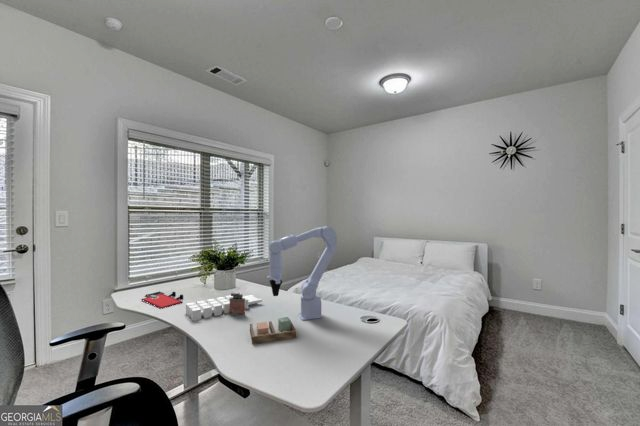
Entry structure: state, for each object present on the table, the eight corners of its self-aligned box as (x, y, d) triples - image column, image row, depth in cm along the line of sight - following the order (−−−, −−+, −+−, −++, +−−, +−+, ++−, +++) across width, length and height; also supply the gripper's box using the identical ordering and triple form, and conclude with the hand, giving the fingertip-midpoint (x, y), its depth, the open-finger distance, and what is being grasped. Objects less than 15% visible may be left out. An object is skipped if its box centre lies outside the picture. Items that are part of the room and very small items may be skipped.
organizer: (185, 303, 138) (252, 291, 159) (186, 313, 138) (252, 299, 159) (193, 311, 127) (263, 296, 149) (193, 321, 127) (263, 305, 149)
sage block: (287, 328, 119) (287, 316, 119) (290, 332, 115) (290, 320, 115) (278, 330, 117) (278, 318, 117) (281, 334, 114) (281, 321, 114)
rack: (289, 324, 123) (289, 318, 123) (296, 338, 110) (296, 330, 110) (249, 330, 117) (249, 323, 117) (252, 344, 105) (252, 336, 105)
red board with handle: (162, 292, 173) (135, 298, 160) (162, 287, 173) (135, 294, 160) (189, 302, 155) (160, 310, 143) (189, 297, 155) (160, 305, 143)
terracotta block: (266, 332, 115) (266, 322, 115) (268, 339, 109) (268, 327, 109) (256, 334, 114) (256, 323, 114) (258, 340, 108) (258, 329, 108)
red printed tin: (246, 313, 136) (246, 293, 136) (242, 316, 133) (242, 295, 133) (231, 311, 139) (231, 291, 138) (227, 314, 135) (227, 293, 135)
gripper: (265, 264, 136) (264, 292, 136) (269, 270, 122) (269, 301, 122) (279, 263, 138) (279, 290, 138) (285, 269, 125) (284, 299, 125)
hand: (275, 295), depth 131 cm, fingers closed
